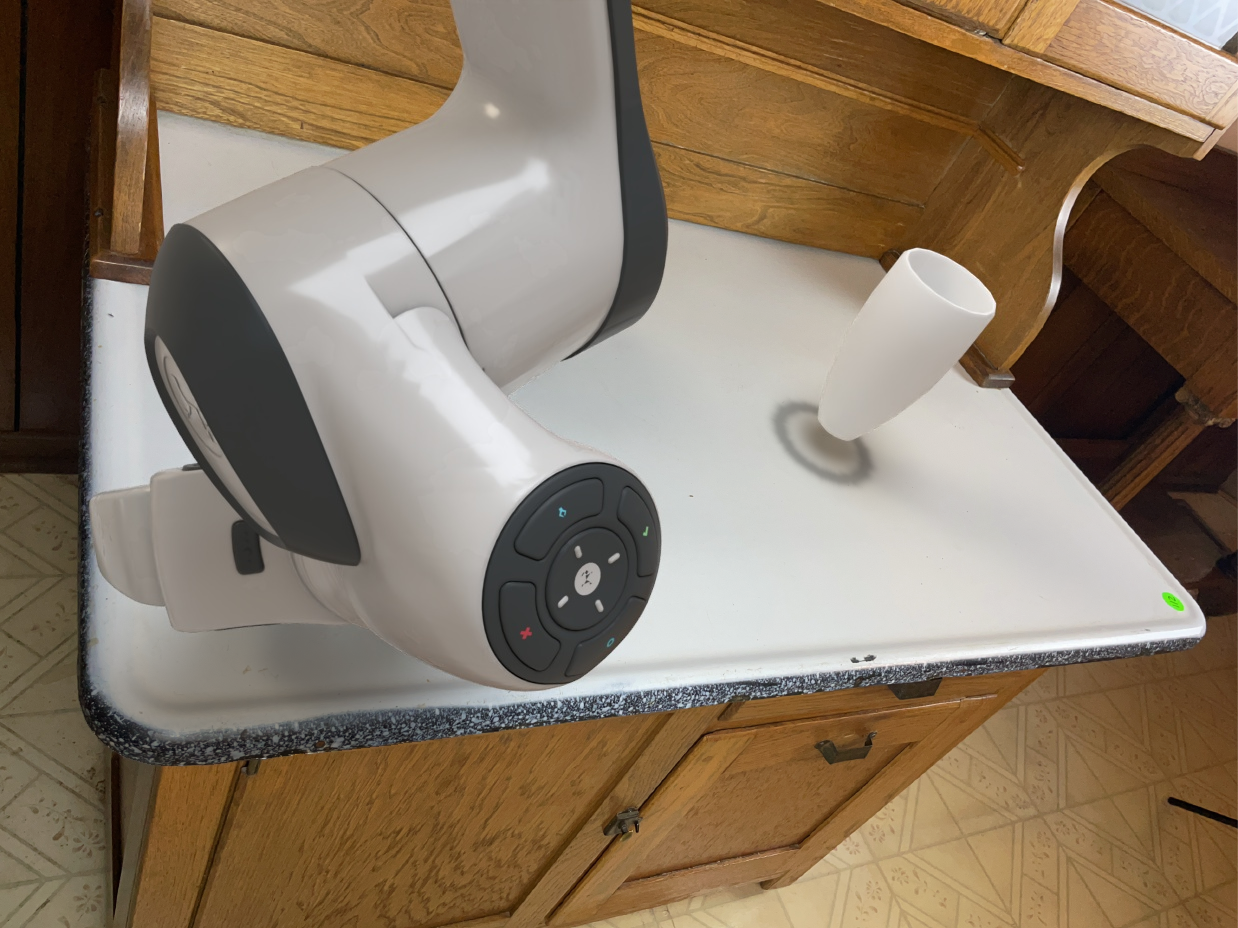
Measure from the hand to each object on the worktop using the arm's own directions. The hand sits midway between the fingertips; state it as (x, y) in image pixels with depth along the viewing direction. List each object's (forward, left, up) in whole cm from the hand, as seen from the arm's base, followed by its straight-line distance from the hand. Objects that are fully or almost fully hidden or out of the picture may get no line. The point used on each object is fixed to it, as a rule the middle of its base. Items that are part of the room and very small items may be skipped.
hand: (285, 491), depth 49 cm
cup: (+54, +17, -10) cm, 58 cm away
